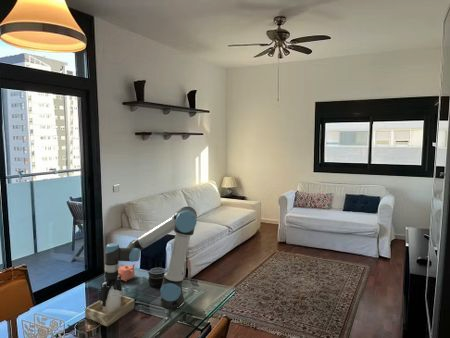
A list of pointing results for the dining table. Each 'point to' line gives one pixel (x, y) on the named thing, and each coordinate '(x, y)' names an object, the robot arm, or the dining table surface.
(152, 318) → the dining table surface
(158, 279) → the container
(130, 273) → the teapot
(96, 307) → the wooden tray
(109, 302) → the cup
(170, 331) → the dining table surface
